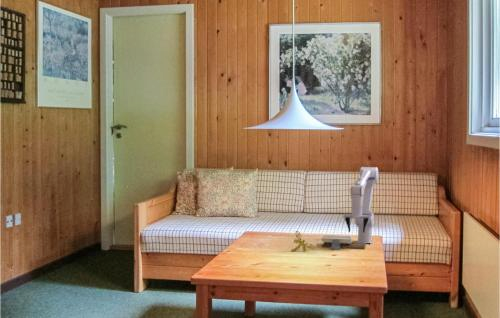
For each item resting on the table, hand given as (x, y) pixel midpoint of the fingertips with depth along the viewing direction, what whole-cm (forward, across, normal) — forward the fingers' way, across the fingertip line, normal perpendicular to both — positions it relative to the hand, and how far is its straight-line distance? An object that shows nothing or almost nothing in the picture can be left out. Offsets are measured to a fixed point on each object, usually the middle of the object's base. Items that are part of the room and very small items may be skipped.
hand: (356, 231), depth 298 cm
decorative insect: (+9, -27, -19) cm, 34 cm away
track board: (+8, -7, +2) cm, 11 cm away
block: (+9, -10, -8) cm, 16 cm away
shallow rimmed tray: (+7, -11, +2) cm, 13 cm away
